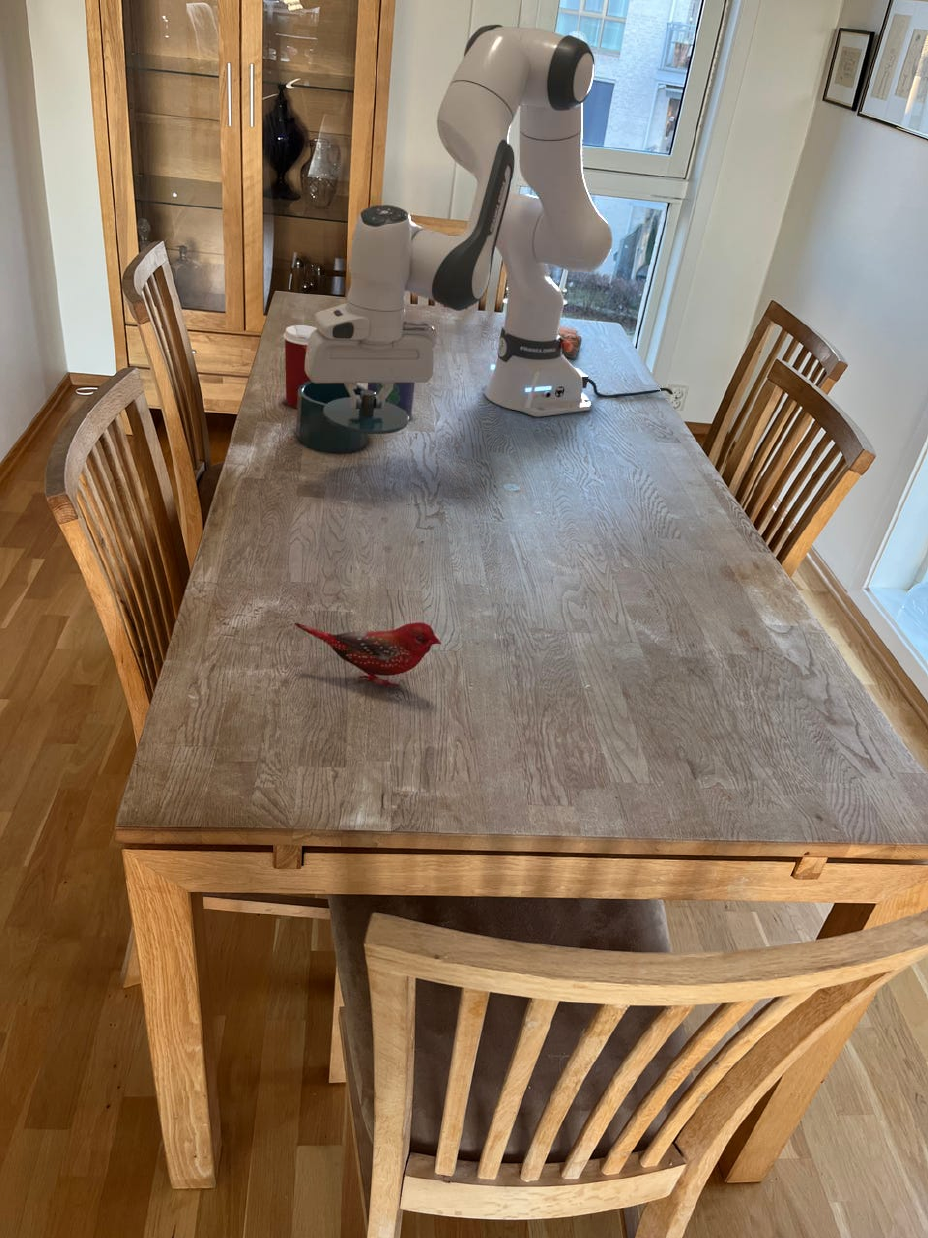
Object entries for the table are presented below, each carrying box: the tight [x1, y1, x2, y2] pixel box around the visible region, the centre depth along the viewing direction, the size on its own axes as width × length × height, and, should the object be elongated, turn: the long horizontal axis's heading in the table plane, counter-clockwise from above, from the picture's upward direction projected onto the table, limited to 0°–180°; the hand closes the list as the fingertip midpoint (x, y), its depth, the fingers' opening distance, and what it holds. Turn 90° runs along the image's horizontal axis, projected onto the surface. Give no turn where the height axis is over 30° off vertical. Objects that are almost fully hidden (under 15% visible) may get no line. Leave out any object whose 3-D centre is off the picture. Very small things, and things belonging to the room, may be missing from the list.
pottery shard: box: [558, 325, 583, 359], centre depth 237 cm, size 16×16×4 cm
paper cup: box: [283, 324, 317, 409], centre depth 183 cm, size 8×8×14 cm
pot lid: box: [323, 390, 409, 435], centre depth 156 cm, size 14×14×5 cm
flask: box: [366, 383, 416, 420], centre depth 186 cm, size 9×3×11 cm, turn 74°
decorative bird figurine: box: [293, 621, 442, 687], centre depth 116 cm, size 3×18×10 cm, turn 80°
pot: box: [295, 381, 369, 454], centre depth 173 cm, size 13×13×8 cm
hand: (366, 407), depth 156 cm, fingers closed on pot lid, 2 cm apart
